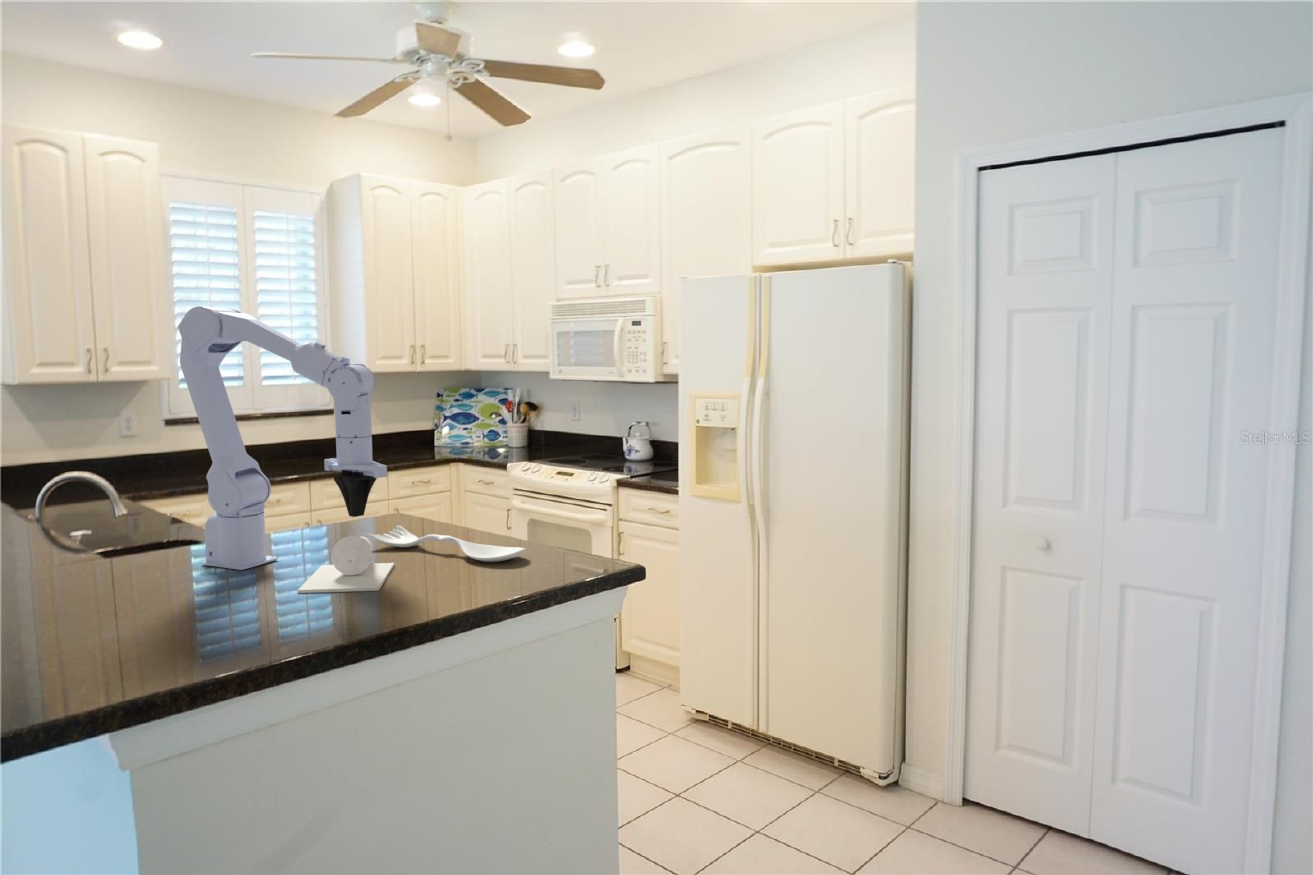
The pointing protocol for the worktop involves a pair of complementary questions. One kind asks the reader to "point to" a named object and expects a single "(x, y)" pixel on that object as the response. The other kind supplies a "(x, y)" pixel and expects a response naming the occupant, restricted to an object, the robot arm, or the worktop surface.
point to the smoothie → (352, 555)
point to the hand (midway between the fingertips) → (356, 515)
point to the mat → (347, 579)
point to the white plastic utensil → (470, 549)
